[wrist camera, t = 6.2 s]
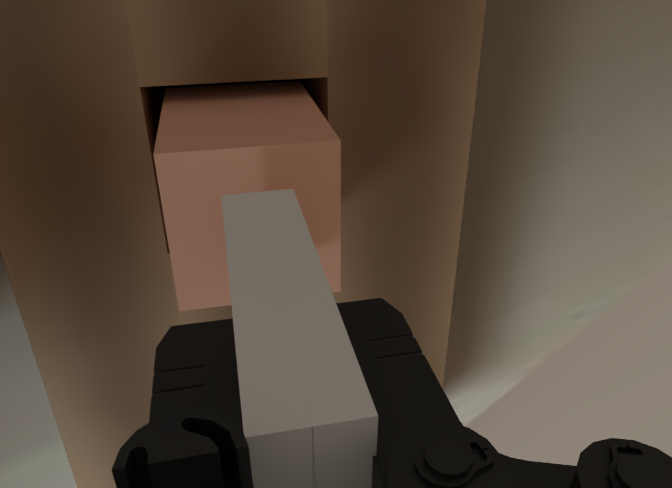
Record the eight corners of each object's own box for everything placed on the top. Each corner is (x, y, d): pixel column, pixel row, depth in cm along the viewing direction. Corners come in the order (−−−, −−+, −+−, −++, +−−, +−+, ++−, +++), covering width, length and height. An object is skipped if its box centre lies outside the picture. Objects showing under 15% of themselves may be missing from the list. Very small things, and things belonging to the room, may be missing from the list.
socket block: (125, 470, 29) (110, 586, 24) (-17, -67, 18) (-103, -65, 12) (389, 425, 32) (427, 522, 27) (418, -69, 20) (494, -68, 15)
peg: (183, 210, 19) (178, 311, 14) (165, 88, 17) (153, 154, 12) (303, 199, 20) (340, 291, 15) (299, 80, 18) (340, 140, 13)
